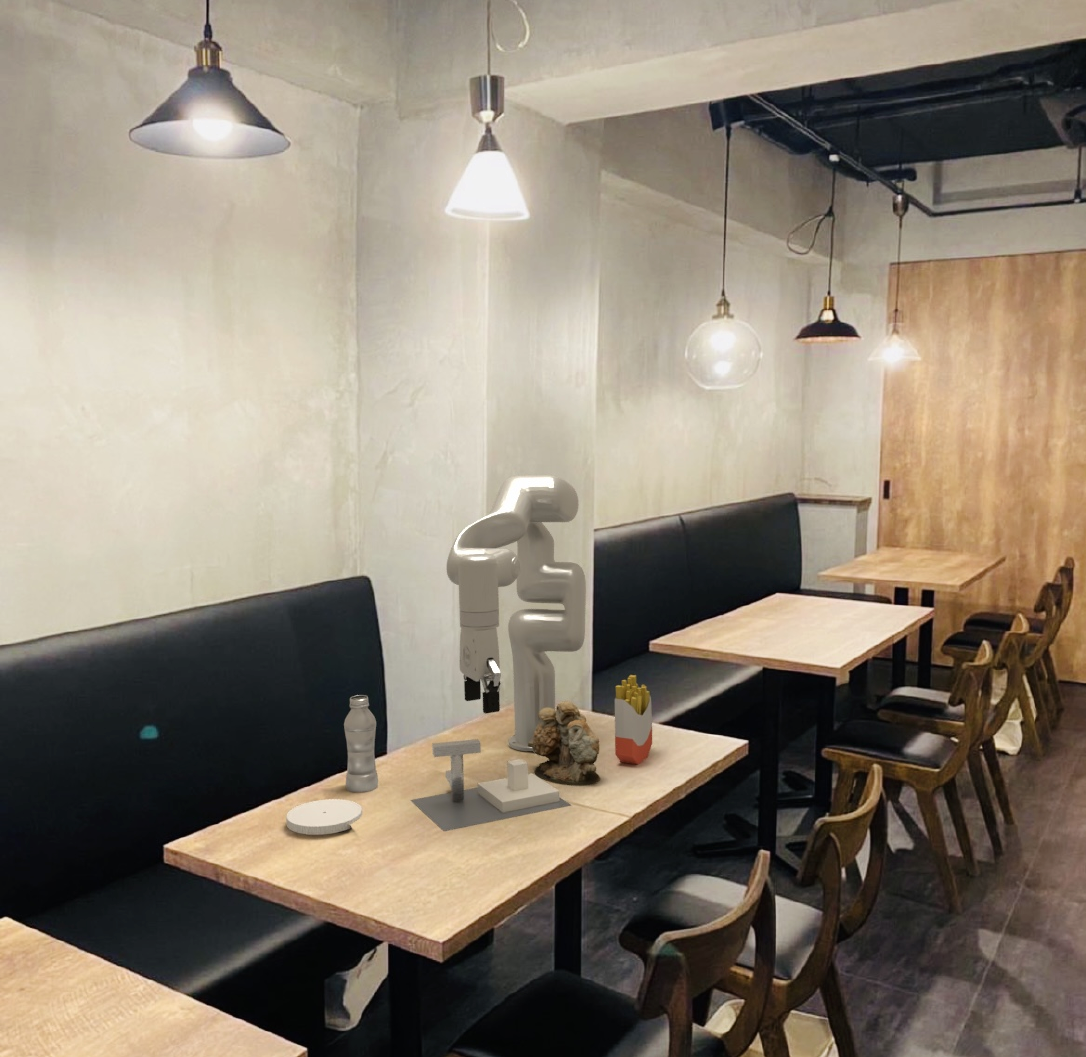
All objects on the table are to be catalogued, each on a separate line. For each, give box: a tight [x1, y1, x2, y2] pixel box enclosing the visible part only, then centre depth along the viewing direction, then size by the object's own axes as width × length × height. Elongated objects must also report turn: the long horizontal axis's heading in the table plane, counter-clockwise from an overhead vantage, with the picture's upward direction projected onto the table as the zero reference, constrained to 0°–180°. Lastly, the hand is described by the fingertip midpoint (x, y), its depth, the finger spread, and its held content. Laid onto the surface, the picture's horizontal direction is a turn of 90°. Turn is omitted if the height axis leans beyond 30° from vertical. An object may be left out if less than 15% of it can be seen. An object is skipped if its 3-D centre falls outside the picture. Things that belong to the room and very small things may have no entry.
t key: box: [431, 738, 482, 801], centre depth 207 cm, size 8×9×11 cm
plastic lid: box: [285, 798, 363, 836], centre depth 198 cm, size 14×14×2 cm
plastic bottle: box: [343, 694, 379, 794], centre depth 213 cm, size 6×7×20 cm
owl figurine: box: [528, 700, 601, 787], centre depth 218 cm, size 18×12×17 cm, turn 52°
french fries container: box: [614, 674, 653, 765], centre depth 231 cm, size 5×11×18 cm, turn 152°
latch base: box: [410, 786, 572, 832], centre depth 204 cm, size 26×18×2 cm
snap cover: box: [477, 758, 561, 812], centre depth 206 cm, size 12×12×7 cm
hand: (481, 705), depth 204 cm, fingers open, 9 cm apart
